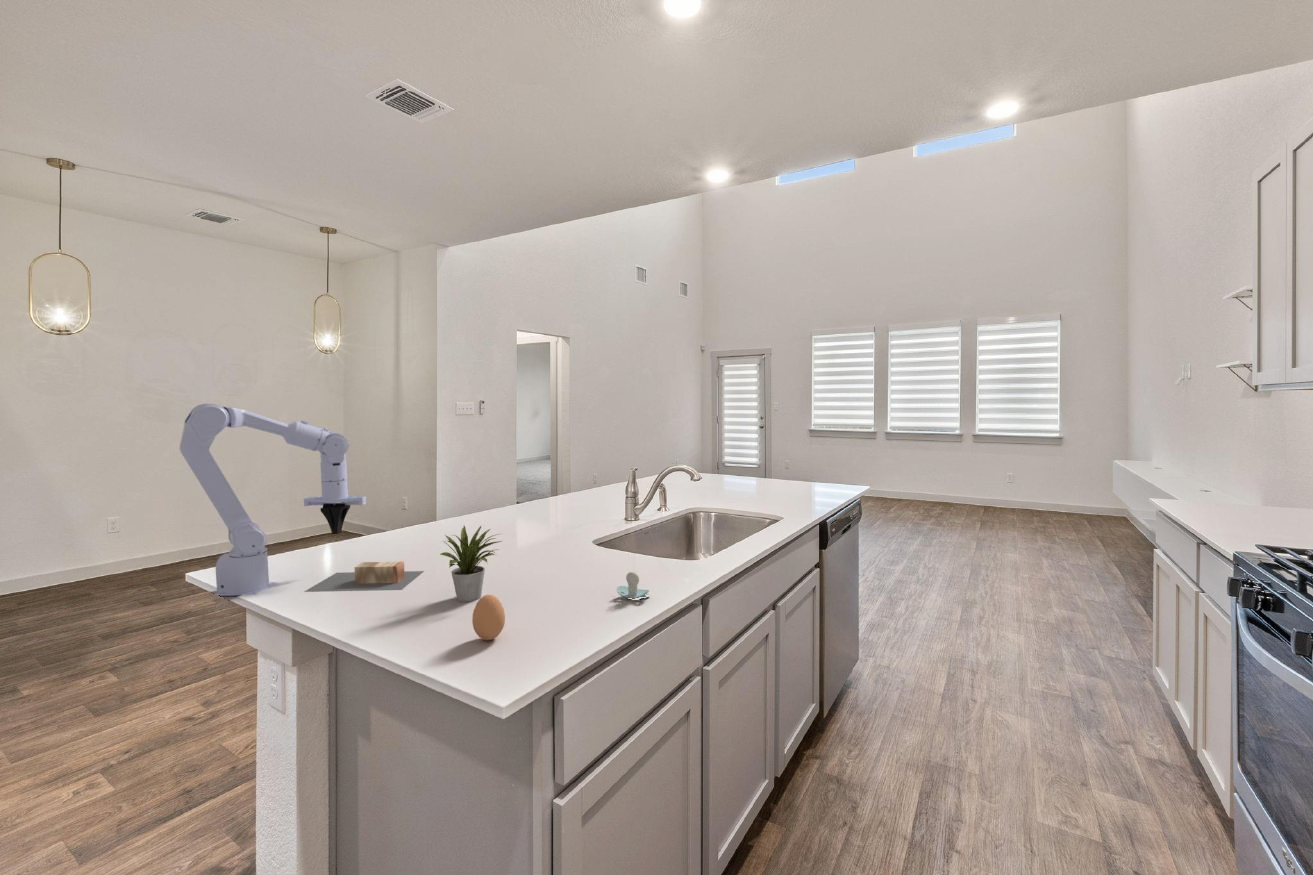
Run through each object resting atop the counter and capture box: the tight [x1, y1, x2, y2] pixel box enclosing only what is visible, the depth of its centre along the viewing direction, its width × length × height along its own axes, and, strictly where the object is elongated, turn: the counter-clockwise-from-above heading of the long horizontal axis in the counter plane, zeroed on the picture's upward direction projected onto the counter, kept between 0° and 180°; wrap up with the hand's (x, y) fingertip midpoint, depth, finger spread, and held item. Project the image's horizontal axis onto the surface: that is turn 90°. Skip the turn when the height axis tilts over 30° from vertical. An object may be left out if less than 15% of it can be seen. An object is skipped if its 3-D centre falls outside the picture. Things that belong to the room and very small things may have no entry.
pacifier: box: [616, 571, 650, 599], centre depth 125 cm, size 7×6×6 cm
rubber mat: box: [303, 570, 425, 593], centre depth 136 cm, size 22×14×1 cm, turn 92°
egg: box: [471, 594, 506, 641], centre depth 103 cm, size 6×6×8 cm
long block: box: [353, 561, 405, 584], centre depth 136 cm, size 4×4×10 cm
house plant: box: [439, 524, 503, 603], centre depth 124 cm, size 14×14×16 cm
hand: (336, 533), depth 143 cm, fingers closed
